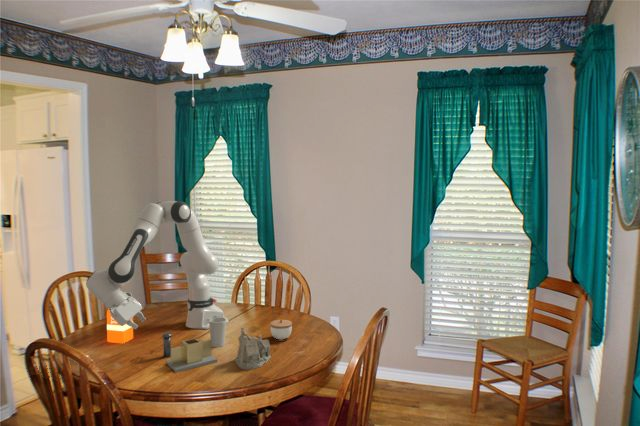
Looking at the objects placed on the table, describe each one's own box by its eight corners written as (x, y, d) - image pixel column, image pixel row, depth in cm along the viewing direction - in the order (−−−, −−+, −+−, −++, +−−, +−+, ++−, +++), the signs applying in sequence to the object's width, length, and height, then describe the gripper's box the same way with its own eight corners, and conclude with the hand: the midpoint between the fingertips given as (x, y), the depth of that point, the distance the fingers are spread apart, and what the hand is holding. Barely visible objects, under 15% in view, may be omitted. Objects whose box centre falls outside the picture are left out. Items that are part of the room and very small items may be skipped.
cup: (211, 348, 210) (211, 323, 209) (207, 343, 217) (207, 318, 216) (228, 346, 213) (228, 321, 213) (223, 340, 220) (223, 316, 220)
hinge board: (206, 353, 204) (206, 351, 204) (217, 361, 195) (217, 359, 195) (166, 363, 193) (166, 360, 193) (175, 372, 184) (175, 369, 184)
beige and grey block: (208, 352, 202) (208, 335, 201) (214, 357, 197) (214, 339, 196) (168, 362, 191) (168, 343, 190) (174, 367, 186) (173, 348, 185)
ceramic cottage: (238, 370, 186) (240, 334, 186) (233, 356, 202) (235, 323, 202) (275, 368, 191) (277, 333, 191) (268, 355, 207) (270, 322, 206)
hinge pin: (170, 353, 203) (169, 332, 202) (173, 356, 200) (173, 334, 199) (161, 355, 201) (160, 333, 200) (164, 358, 198) (163, 336, 197)
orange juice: (123, 343, 215) (122, 302, 213) (107, 342, 217) (106, 300, 215) (133, 338, 223) (132, 297, 221) (117, 336, 224) (116, 296, 223)
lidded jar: (265, 339, 223) (265, 320, 222) (277, 333, 232) (278, 315, 232) (284, 343, 218) (284, 324, 217) (296, 336, 227) (296, 318, 227)
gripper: (113, 303, 187) (137, 327, 188) (131, 291, 208) (153, 312, 209) (102, 314, 187) (126, 337, 189) (121, 301, 208) (143, 322, 209)
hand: (140, 324), depth 199 cm, fingers open, 8 cm apart
